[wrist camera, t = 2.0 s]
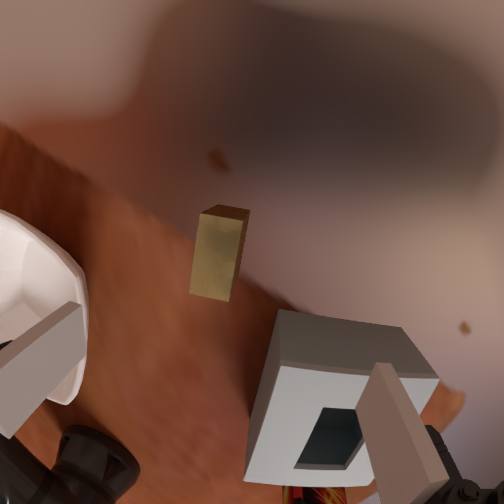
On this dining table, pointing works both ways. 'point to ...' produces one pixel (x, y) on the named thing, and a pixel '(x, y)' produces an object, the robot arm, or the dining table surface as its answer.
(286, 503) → the mug
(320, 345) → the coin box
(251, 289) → the dining table surface
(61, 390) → the bowl
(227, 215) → the token
